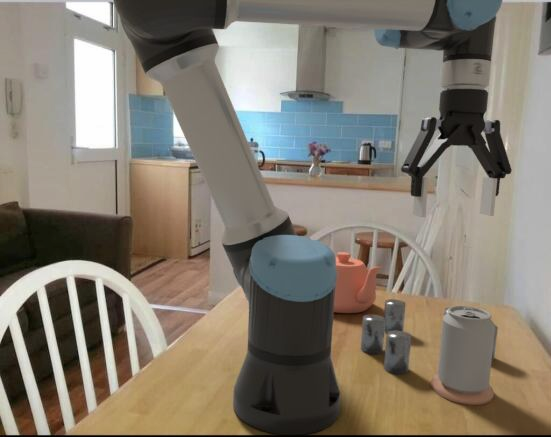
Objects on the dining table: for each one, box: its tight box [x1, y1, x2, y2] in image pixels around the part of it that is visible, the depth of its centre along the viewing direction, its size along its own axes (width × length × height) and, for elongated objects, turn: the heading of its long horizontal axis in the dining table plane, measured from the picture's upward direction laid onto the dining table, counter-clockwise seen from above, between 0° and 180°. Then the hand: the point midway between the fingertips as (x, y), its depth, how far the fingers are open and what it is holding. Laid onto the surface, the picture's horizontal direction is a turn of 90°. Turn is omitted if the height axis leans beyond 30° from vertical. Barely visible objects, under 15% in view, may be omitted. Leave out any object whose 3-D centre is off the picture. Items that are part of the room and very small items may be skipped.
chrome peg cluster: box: [360, 298, 499, 375], centre depth 93 cm, size 22×19×6 cm
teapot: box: [334, 251, 383, 314], centre depth 114 cm, size 22×16×12 cm
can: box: [437, 305, 496, 394], centre depth 77 cm, size 8×8×12 cm
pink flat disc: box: [430, 373, 494, 406], centre depth 78 cm, size 9×9×1 cm
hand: (453, 215), depth 87 cm, fingers open, 13 cm apart
